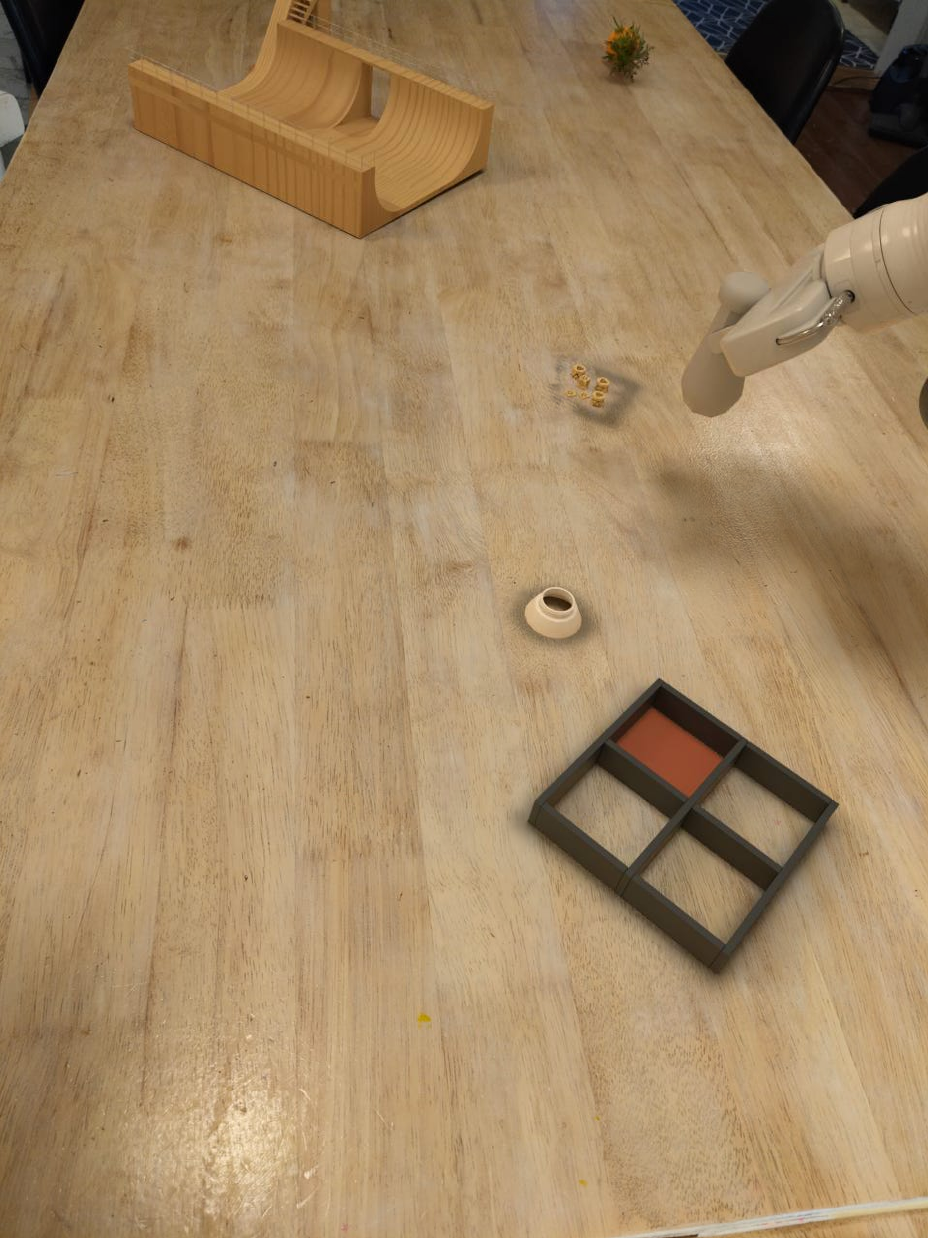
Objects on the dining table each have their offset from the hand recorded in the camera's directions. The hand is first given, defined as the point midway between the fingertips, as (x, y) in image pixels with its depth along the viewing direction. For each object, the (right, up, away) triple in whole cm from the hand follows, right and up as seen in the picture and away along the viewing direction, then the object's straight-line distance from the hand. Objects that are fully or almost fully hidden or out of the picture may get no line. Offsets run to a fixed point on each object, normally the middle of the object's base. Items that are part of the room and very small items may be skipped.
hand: (722, 333), depth 92 cm
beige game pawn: (0, -5, +5) cm, 8 cm away
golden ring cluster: (-10, -1, +22) cm, 24 cm away
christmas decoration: (+5, +73, +91) cm, 117 cm away
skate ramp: (-43, +42, +55) cm, 82 cm away
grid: (-7, -41, -14) cm, 44 cm away
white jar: (-15, -26, -1) cm, 30 cm away
